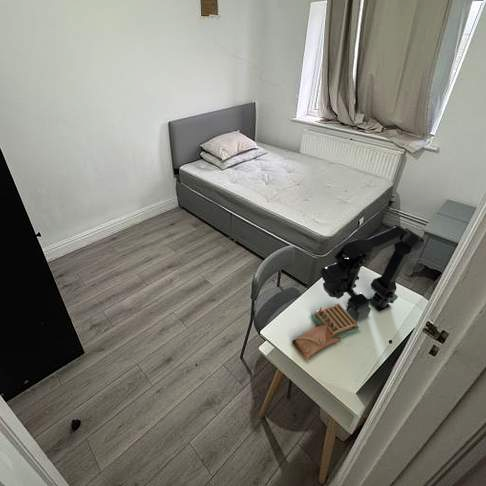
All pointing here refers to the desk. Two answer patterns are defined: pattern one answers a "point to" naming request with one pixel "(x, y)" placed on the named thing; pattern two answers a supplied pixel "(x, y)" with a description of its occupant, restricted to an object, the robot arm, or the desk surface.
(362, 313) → the black box
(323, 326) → the sunglasses case
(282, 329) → the desk surface
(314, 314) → the wooden peg rack
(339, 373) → the desk surface
